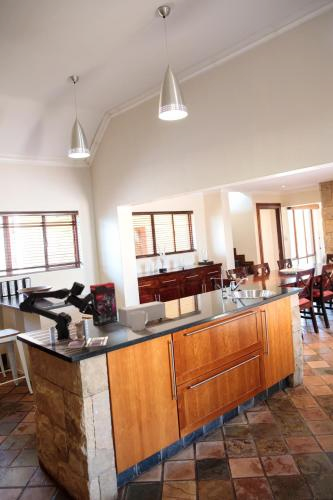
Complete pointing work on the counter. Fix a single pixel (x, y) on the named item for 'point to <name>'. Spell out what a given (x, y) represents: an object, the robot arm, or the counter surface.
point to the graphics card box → (104, 303)
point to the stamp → (79, 332)
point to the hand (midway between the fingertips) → (98, 315)
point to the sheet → (96, 341)
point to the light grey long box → (152, 308)
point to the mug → (138, 320)
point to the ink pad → (76, 344)
